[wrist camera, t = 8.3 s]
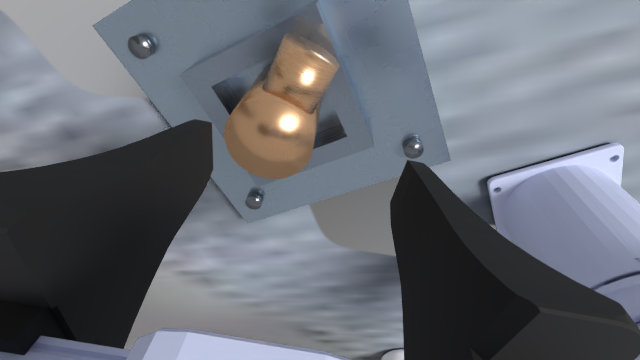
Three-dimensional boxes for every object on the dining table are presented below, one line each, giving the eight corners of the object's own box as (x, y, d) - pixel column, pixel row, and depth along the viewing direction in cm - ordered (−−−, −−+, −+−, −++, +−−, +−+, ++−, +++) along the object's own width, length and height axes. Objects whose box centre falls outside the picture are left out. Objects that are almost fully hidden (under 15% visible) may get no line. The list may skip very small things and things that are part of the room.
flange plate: (446, 152, 22) (459, 177, 19) (250, 214, 26) (240, 241, 24) (366, -147, 14) (369, -168, 11) (103, 22, 18) (66, 33, 16)
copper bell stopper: (304, 134, 21) (290, 191, 16) (246, 105, 20) (213, 156, 15) (352, 48, 17) (354, 87, 12) (286, 9, 16) (259, 34, 12)
